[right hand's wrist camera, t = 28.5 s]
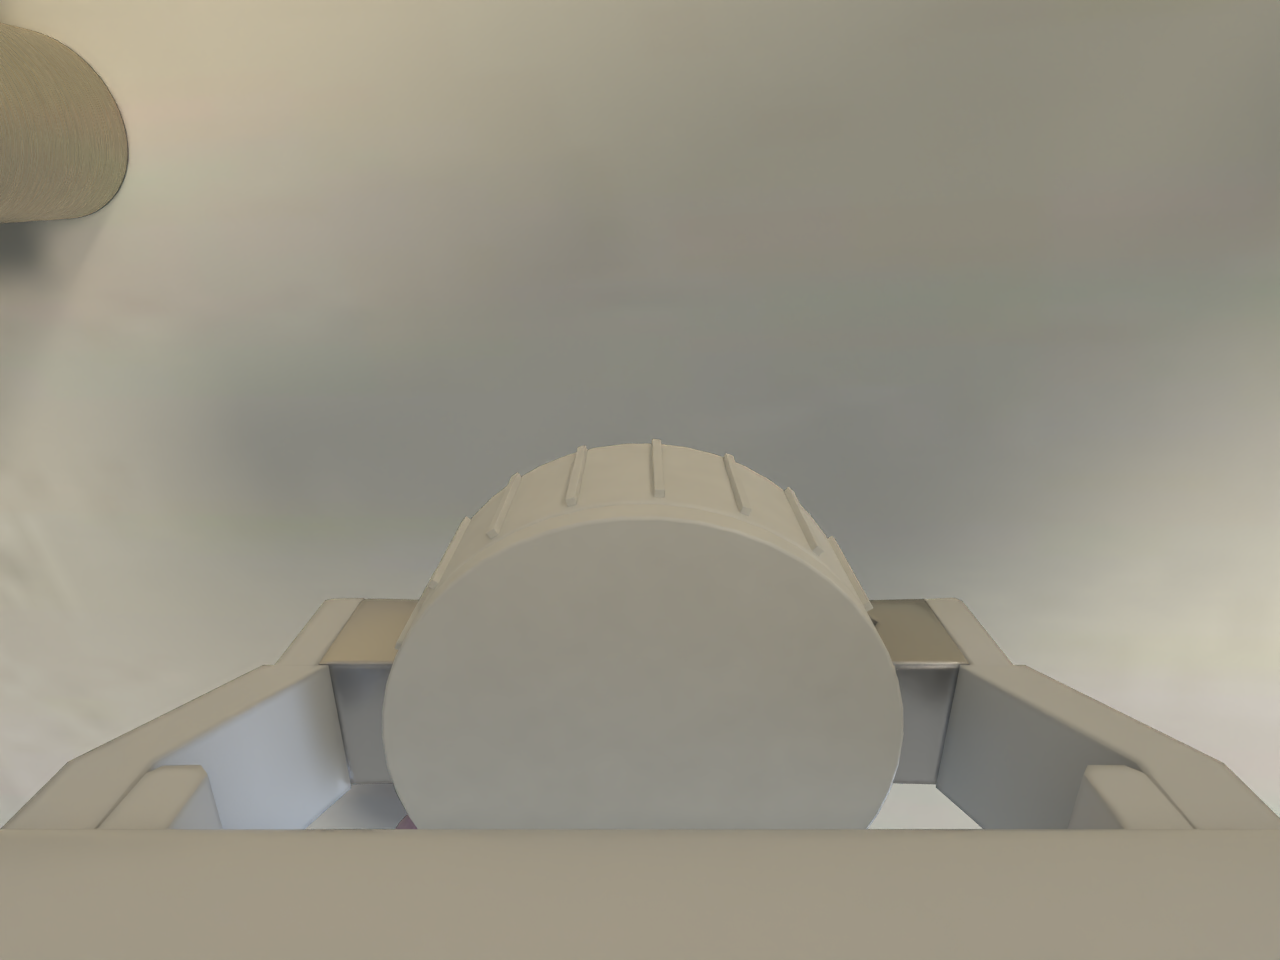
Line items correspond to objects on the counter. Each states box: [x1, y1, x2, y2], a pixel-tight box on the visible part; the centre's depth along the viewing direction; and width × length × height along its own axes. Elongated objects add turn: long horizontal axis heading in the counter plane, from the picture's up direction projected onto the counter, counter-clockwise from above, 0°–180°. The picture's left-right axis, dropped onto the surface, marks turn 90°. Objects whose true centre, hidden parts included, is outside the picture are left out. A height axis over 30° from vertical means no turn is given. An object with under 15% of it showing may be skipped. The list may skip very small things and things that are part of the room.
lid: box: [382, 439, 903, 829], centre depth 9 cm, size 6×6×2 cm
